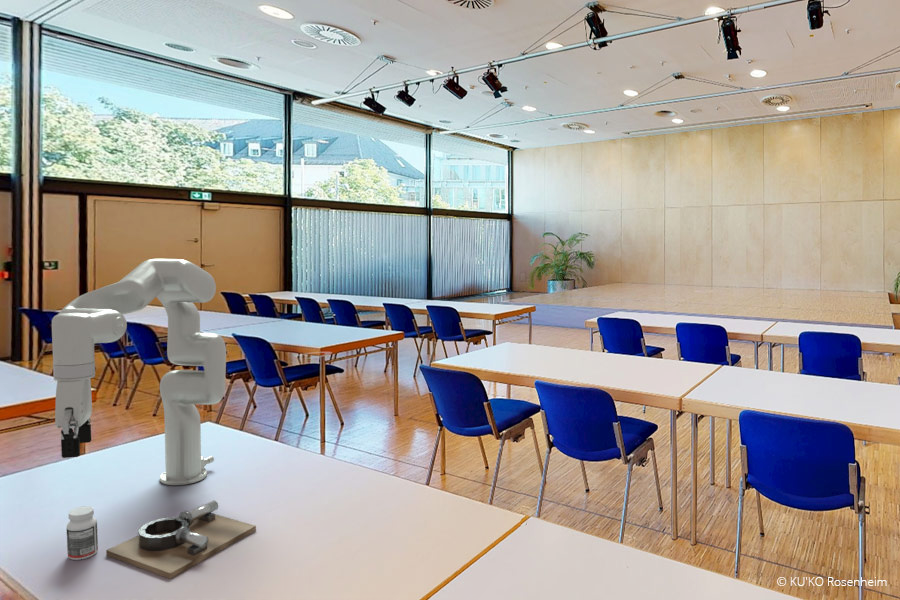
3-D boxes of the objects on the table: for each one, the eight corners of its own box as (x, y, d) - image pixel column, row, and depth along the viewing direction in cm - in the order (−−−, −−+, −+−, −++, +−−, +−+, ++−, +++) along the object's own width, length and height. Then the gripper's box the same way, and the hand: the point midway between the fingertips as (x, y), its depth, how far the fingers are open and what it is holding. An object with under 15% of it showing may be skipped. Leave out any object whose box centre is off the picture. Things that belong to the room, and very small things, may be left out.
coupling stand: (196, 513, 154) (195, 492, 154) (255, 530, 146) (255, 508, 145) (106, 555, 133) (105, 531, 132) (170, 578, 124) (169, 552, 124)
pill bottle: (76, 548, 136) (74, 505, 135) (102, 547, 136) (101, 504, 135) (62, 561, 130) (60, 516, 129) (90, 560, 131) (88, 516, 130)
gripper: (65, 364, 137) (68, 438, 138) (41, 380, 120) (44, 464, 122) (103, 362, 139) (105, 436, 140) (84, 378, 123) (86, 461, 124)
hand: (77, 449), depth 131 cm, fingers open, 9 cm apart
